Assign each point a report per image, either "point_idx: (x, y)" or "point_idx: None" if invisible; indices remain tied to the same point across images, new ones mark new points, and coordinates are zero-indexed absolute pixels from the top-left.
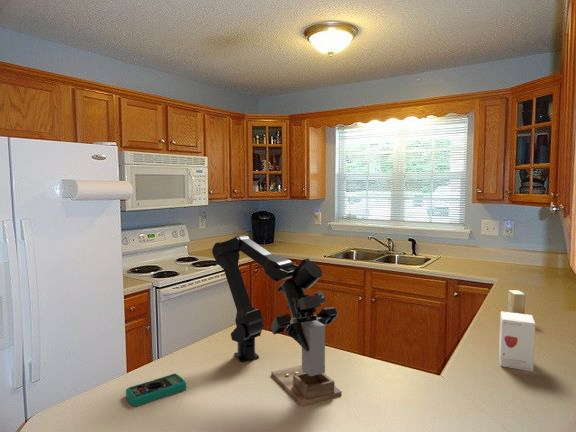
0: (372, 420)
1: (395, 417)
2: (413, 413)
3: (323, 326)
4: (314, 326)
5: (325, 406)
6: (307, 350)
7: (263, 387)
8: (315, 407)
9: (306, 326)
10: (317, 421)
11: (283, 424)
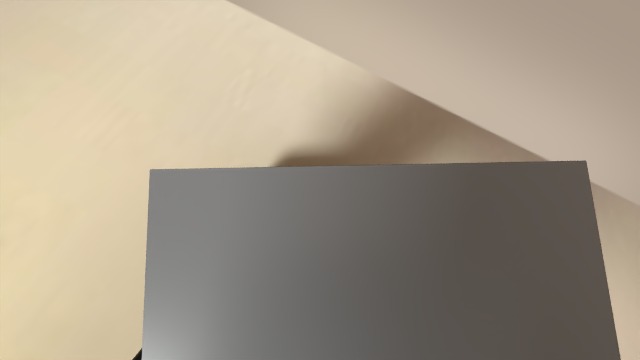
0: (227, 33)
1: (158, 14)
2: (94, 4)
3: (213, 174)
4: (462, 201)
5: (309, 147)
6: None
7: None
8: (338, 155)
9: (588, 343)
10: (364, 95)
11: (447, 123)
